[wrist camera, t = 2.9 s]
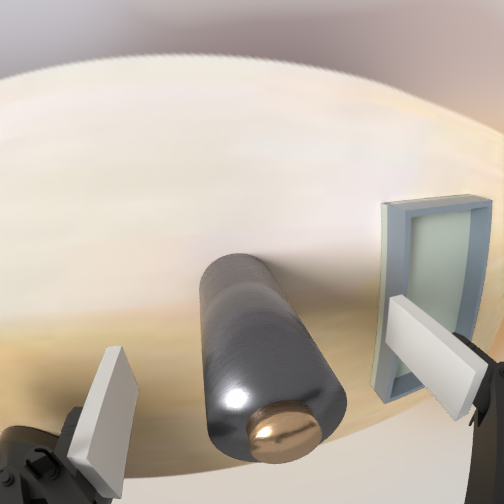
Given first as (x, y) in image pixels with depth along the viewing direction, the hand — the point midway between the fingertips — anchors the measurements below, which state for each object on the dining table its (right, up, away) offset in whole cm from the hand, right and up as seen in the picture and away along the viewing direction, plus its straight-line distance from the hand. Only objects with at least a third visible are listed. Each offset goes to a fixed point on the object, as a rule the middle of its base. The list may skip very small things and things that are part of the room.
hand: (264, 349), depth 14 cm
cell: (-2, +2, +7) cm, 7 cm away
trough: (+14, +1, +10) cm, 18 cm away
